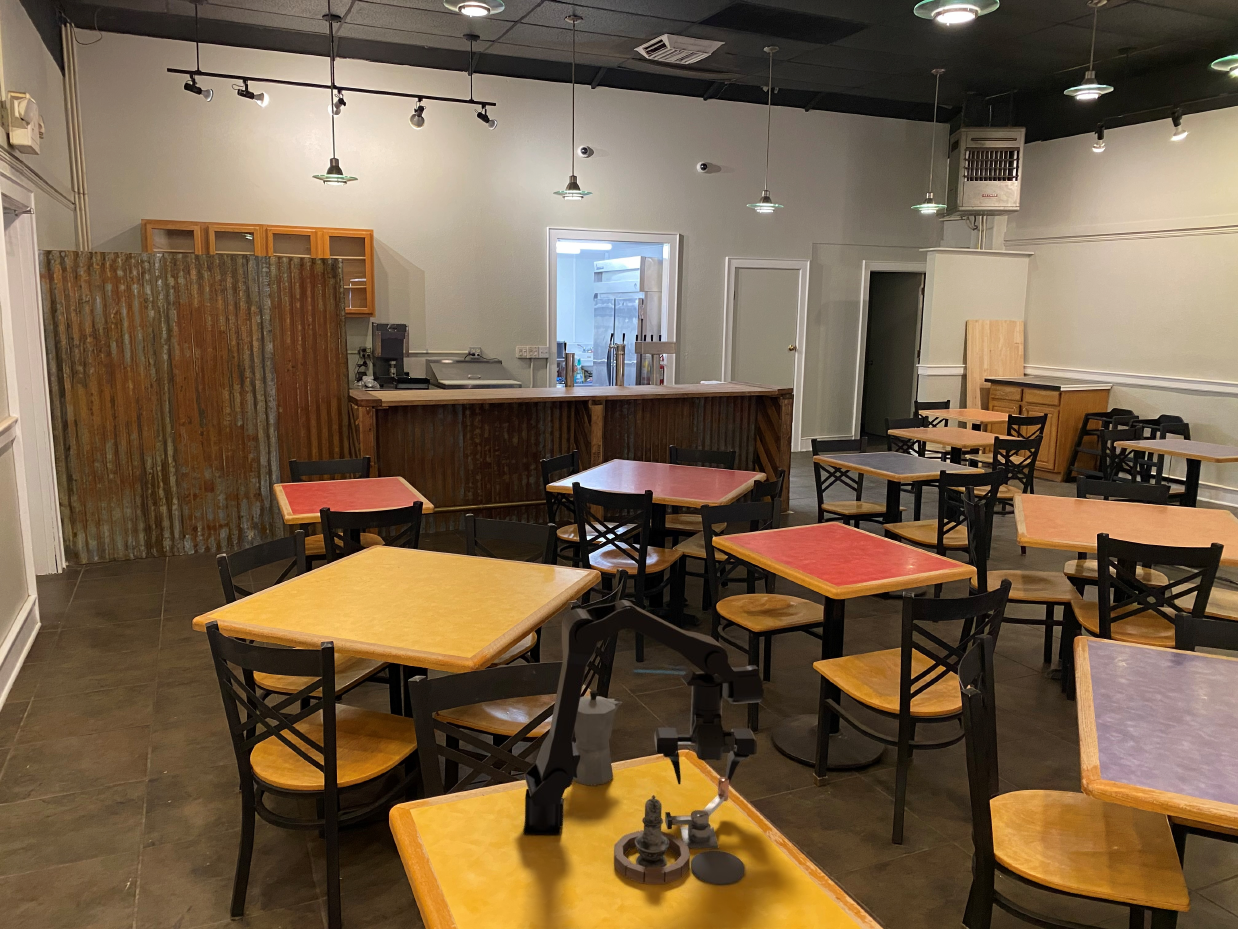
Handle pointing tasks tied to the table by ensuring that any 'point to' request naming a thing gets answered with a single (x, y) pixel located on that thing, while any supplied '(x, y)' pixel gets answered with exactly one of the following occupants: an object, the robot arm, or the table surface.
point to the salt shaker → (652, 837)
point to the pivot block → (699, 837)
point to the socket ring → (651, 873)
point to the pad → (717, 867)
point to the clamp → (701, 817)
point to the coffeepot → (594, 738)
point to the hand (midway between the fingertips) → (703, 783)
